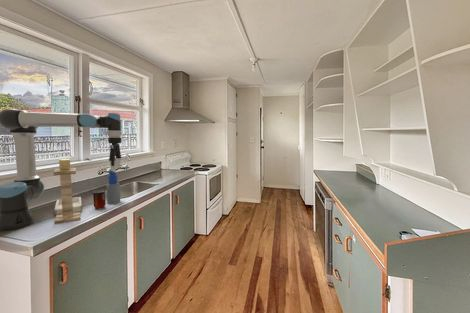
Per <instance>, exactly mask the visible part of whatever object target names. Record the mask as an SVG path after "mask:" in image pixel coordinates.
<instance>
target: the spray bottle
mask: <svg viewBox="0 0 470 313" xmlns="http://www.w3.org/2000/svg"><path fill="white" fill-rule="evenodd" d="M107 177H108V178H107V180H108V183H106V185H105V186H106V187H105V192H106V203H107V205H115V204H116V205H117V204H120V203H121V184H120V182H118V175H117V172H116V171H111V169H109V174H108V176H107Z"/></svg>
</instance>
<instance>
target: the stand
mask: <svg viewBox="0 0 470 313" xmlns="http://www.w3.org/2000/svg"><path fill="white" fill-rule="evenodd" d="M70 168H71V169H70V170H60V168H55V169H54V171H53V176H55V177H57V176H59V181H60V183H59V184H60V197H61V199H62V215H56V216H55V219H54V224H55V225H58V224H63V223H64V222H65V223H69V222H74V221H75V222H77V221H80V220H81V219H82V218H81V212H75V213H73V201H72V198H73V188H72V175H76V171H77V168H76V167H70Z"/></svg>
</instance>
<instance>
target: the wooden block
mask: <svg viewBox="0 0 470 313" xmlns="http://www.w3.org/2000/svg"><path fill="white" fill-rule="evenodd" d="M58 164H59V168H58V169H60V170H70V169H71V168H72V167H71V159H70V158H59V159H58Z"/></svg>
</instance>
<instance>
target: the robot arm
mask: <svg viewBox="0 0 470 313" xmlns="http://www.w3.org/2000/svg"><path fill="white" fill-rule="evenodd" d="M121 123H122V122H121V114H119V113H117V112H108V113H107V114H106V115H105V116H104V115H103V116H102V115H94V114H91V113H68V112H67V113H61V112H60V113H59V112H58V113H57V112H34V111H33V112H31V111H28V110H23V109H16V108H6V109H5V108H4V109H3V110H1V111H0V125H1V127H3V128H5V129H6V130H7V129H8V130H9V133H10V134H11V135H12V136H13V139H14V140H13V141H14V149H15V150H14V152H15V164H16V175H17V176H16V177H15V178H13V181H12V182H7V183H4V184H0V231H11V230H17V229H21V228H25V227H28V226H30V225H31V224H33V223H34V217H33V215H32V213H31V211H30V208H29V202H30V201H32V200H35V199H37V198H38V197H39V196H41V195H42V194H43V193H44V192H45V184H44V183H43V181H41V177H40V176H39V175H38V174H37V164H36V162H37V161H36V152H35V151H36V150H35V137H34V136H35V135H37V129H38V128H39V127H52V128H53V127H56V128H57V127H58V128H59V127H61V128H63V127H64V128H76V127H77V128H90V129H95V128H96V129H97V128H98V129H105V128H106V129H107V137H108V141H107V143H108V144H110V146H109V147H110V148H109V157H108V161H109V162H110V170H111V171H115V172H117V169H121V168H122V167H121V159H122V158H123V157H122V155H121V148H120V144H122V138H121V137H122V134H123V132H121V131H122V126H121V125H122V124H121Z"/></svg>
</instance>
